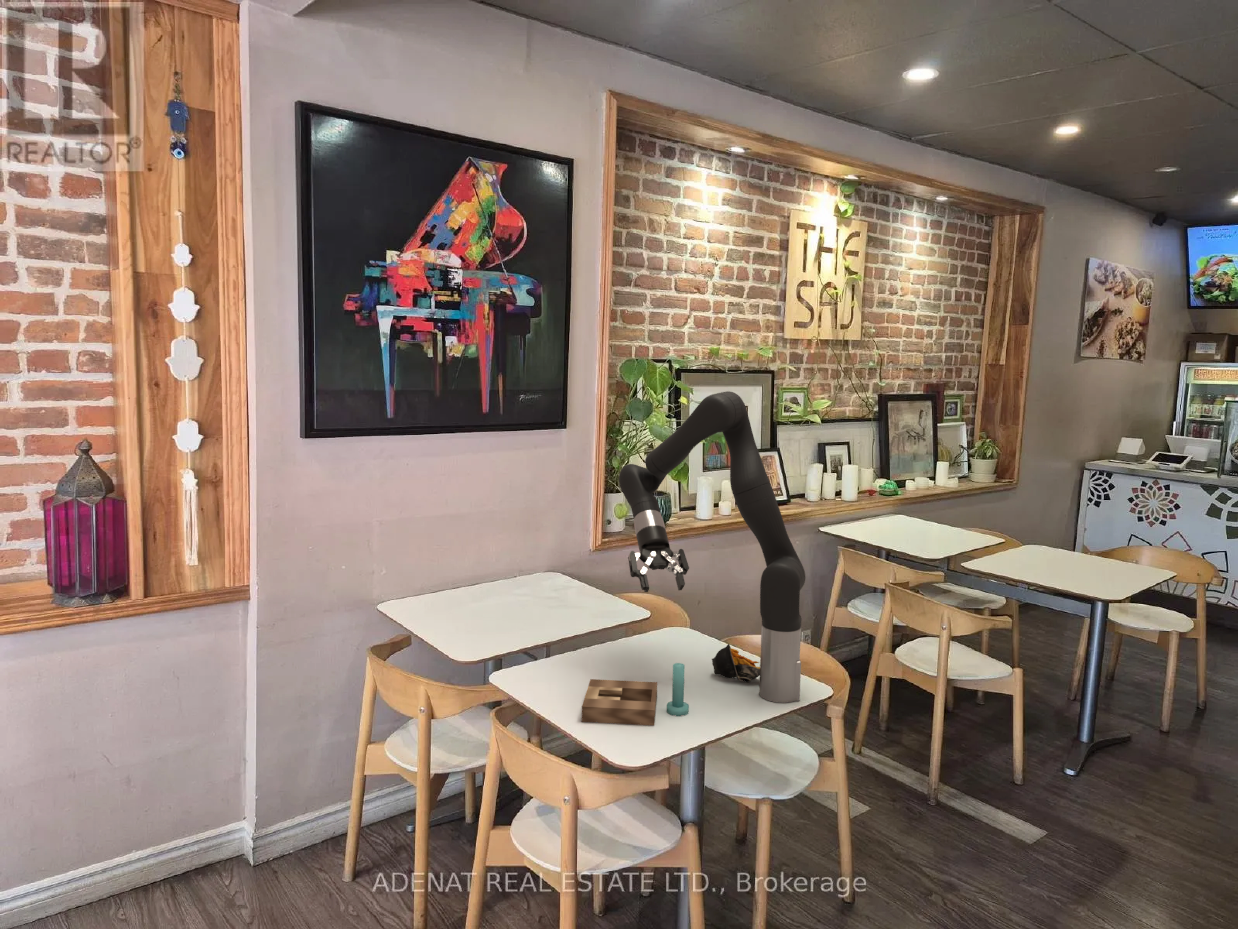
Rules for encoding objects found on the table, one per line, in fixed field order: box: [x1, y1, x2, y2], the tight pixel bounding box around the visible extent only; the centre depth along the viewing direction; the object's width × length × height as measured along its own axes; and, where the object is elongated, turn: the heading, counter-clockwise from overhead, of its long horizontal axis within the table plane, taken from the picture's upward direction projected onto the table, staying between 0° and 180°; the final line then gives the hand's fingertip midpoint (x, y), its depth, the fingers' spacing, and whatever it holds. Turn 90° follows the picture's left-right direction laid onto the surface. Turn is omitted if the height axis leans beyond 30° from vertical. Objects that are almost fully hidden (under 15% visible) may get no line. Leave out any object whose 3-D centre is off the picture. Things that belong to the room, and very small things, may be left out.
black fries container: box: [711, 643, 760, 683], centre depth 207 cm, size 9×11×18 cm
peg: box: [666, 662, 690, 717], centre depth 186 cm, size 5×5×11 cm
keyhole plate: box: [581, 678, 658, 726], centre depth 188 cm, size 16×16×4 cm
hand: (664, 589), depth 195 cm, fingers open, 8 cm apart
